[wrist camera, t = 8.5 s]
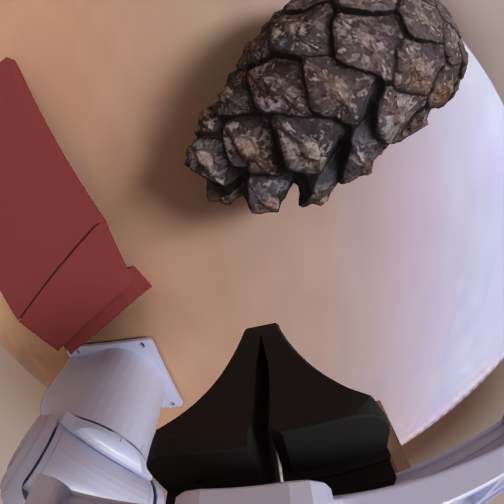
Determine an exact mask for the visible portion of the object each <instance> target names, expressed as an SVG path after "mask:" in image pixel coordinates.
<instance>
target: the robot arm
mask: <svg viewBox="0 0 504 504" xmlns="http://www.w3.org/2000/svg"><path fill="white" fill-rule="evenodd" d="M141 343H143V344H144V345H142V344H141ZM78 350H79V351H78ZM66 351H67V349H66ZM67 353H68V355H69V357H70V358H69V359H68V361H67V362H66V363H65V365H64V366H63V368H62V369H61V370H60V372H59V373H58V375H57V376H56V377H55V379H54V380H53V382H52V383H51V385H50V386H49V388H48V389H47V391H46V392H45V393H44V395H43V398H42V401H41V406H40V416H39V417H38V418H37V419H36V421H35V422H34V423H33V425H32V426H31V427H30V429H29V430H28V432H27V434H26V435H25V437H24V438H23V440H22V441H21V443H20V445H19V446H18V448H17V450H16V451H15V453H14V455H13V457H12V459H11V461H10V463H9V465H8V468H7V471H6V473H5V475H4V477H3V479H2V481H1V485H0V489H1V498H2V501H3V503H4V504H165V500H164V495H163V491H162V488H161V486H160V485H159V484H158V483H157V482H156V481H154V480H152V477H154V478H155V479H156V480H157V481H158V482H159V483H160V484H161V485H162V486H163V487H164V488H165V489H166V490H167V491H168V493H167V499H166V504H486V503H488V502H489V501H491V500H492V499H494V498H495V497H496V496H498V495H499V494H500V493H502V492H503V491H504V414H503V417H502V420H500V421H499V422H497V423H495V424H494V425H492V426H491V427H489V428H488V429H486V430H484V431H483V432H481V433H479V434H478V435H476V436H474V437H472V438H471V439H469V440H467V441H466V442H464V443H462V444H460V445H458V446H456V447H454V448H453V449H450V450H448V451H446V452H444V453H442V454H440V455H438V456H436V457H434V458H432V459H430V460H428V461H425V462H423V463H420V464H418V465H416V466H413V467H411V468H408V469H406V470H403V471H401V472H398V473H395V472H394V469H393V467H392V464H391V462H390V458H391V456H390V453H389V450H388V448H387V445H388V440H389V435H390V423H389V420H388V418H387V416H386V415H385V413H384V412H383V410H382V409H381V407H380V406H379V405H378V403H377V402H376V401H375V400H374V399H373V398H372V396H370V395H367V394H364V393H361V392H358V391H355V390H352V389H350V388H347V387H345V386H343V385H341V384H339V383H337V382H336V381H334V380H332V379H330V378H329V377H327V376H325V375H324V374H322V373H321V372H319V371H318V370H317V369H315V368H314V367H313V366H312V365H310V364H309V363H308V362H307V361H306V360H305V359H304V358H303V357H302V356H301V355H300V354H299V353H298V352H297V351H296V350H295V349H294V348H293V347H292V346H291V344H290V343H289V342H288V341H287V339H286V338H285V336H284V335H283V333H282V332H281V330H280V328H279V325H278V324H276V323H273V324H268V325H263V326H258V327H253V328H248V329H246V330H245V331H244V334H243V336H242V339H241V341H240V343H239V345H238V347H237V349H236V351H235V353H234V355H233V357H232V358H231V360H230V362H229V363H228V365H227V366H226V368H225V370H224V371H223V373H222V374H221V376H220V377H219V378H218V380H217V381H216V382H215V383H214V385H213V386H212V387H211V388H210V389H209V390H208V391H207V392H206V393H205V394H204V395H203V396H202V397H201V398H200V399H199V400H198V401H197V402H196V403H195V404H194V405H193V406H191V407H190V408H189V409H188V410H186V411H185V412H184V413H182V414H181V415H180V416H178V417H177V418H175V419H174V420H172V421H171V422H169V423H167V424H166V425H164V426H162V427H161V428H159V429H157V430H156V426H157V422H158V419H159V415H160V412H161V408H166V407H180V406H182V403H183V401H182V399H181V397H180V395H179V393H178V391H177V389H176V387H175V385H174V383H173V381H172V379H171V377H170V375H169V373H168V371H167V369H166V367H165V365H164V363H163V361H162V359H161V357H160V354H159V352H158V350H157V348H156V346H155V343H154V341H153V340H152V339H151V338H149V337H144V338H137V339H129V340H121V341H112V342H103V343H94V344H84V345H82V346H81V347H79V348H78V349H77V350H76V351H75V352H74V353H72V354H70V353H69V352H68V351H67ZM172 402H173V403H172ZM155 430H156V433H155ZM154 433H155V435H154ZM277 454H278V457H279V460H280V463H281V466H282V474H283V482H281V478H280V472H279V464H278V457H277Z"/></svg>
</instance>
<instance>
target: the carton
mask: <svg viewBox="0 0 504 504" xmlns="http://www.w3.org/2000/svg"><path fill="white" fill-rule="evenodd" d="M150 287H151V284H150V283H149V282H148V281H147V280H146V279H145V278H144V277H143V276H142V274H141V273H140V272H139V271H138V270H137V269H136V268H135V267H134V266H133V267H131V268H129V269H127V267H126V265H125V263H124V260H123V258H122V256H121V254H120V252H119V250H118V248H117V246H116V243H115V241H114V239H113V237H112V234H111V232H110V230H109V228H108V225H107V223H106V220H105V219H104V217H103V216H102V214H101V213H100V211H99V210H98V208H97V207H96V205H95V204H94V202H93V201H92V199H91V198H90V196H89V195H88V193H87V192H86V190H85V188H84V187H83V185H82V184H81V182H80V181H79V179H78V177H77V176H76V174H75V172H74V171H73V169H72V168H71V166H70V164H69V163H68V161H67V159H66V157H65V156H64V154H63V152H62V151H61V149H60V147H59V145H58V144H57V142H56V140H55V138H54V137H53V135H52V133H51V131H50V129H49V127H48V126H47V124H46V122H45V120H44V118H43V116H42V114H41V112H40V110H39V108H38V107H37V105H36V103H35V101H34V99H33V97H32V94H31V92H30V90H29V88H28V86H27V84H26V82H25V80H24V78H23V75H22V73H21V71H20V69H19V67H18V65H17V63H16V62H15V60H13V59H10V58H7V57H6V58H5V59H4V60H2V61H1V62H0V291H1V292H2V294H3V296H4V298H5V299H6V301H7V303H8V304H9V306H10V308H11V309H12V311H13V313H14V314H15V316H16V317H17V319H18V320H19V319H20V318H21V319H20V321H19V322H21V323H22V324H23V325H24V326H26V327H27V328H28V329H29V330H31V331H32V332H33V333H35V334H36V335H37V336H39V337H40V338H41V339H43V340H44V341H45V342H47V343H48V344H49V345H51V346H52V347H54V348H55V349H56V350H59V349H60V348H61V347H62V346H64V347H65V348H66V349H67V351H68V352H69V353H70V354H72V353H74V352H75V351H76V350H77V349H78V348H79V347H81V346H82V345H83V344H84V343H85V342H86V341H88V340H89V339H90V338H91V337H92V336H93V335H95V334H96V333H97V332H98V331H99V330H100V329H102V328H103V327H104V326H105V325H106V324H107V323H109V322H110V321H111V320H112V319H113V318H114V317H116V316H117V315H118V314H119V313H120V312H121V311H123V310H124V309H125V308H126V307H127V306H129V305H130V304H131V303H132V302H133V301H135V300H136V299H137V298H138V297H139V296H141V295H142V294H143V293H144V292H145V291H147V290H148V289H149V288H150Z"/></svg>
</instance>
